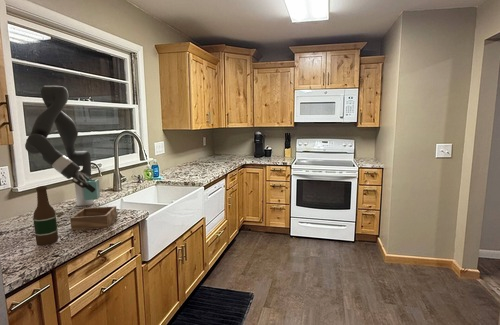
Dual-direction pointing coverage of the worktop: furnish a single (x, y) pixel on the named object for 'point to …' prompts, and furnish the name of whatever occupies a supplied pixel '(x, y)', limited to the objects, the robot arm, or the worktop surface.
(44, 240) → the beer bottle
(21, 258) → the worktop surface
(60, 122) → the robot arm
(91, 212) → the walnut crate
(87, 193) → the teal rectangular block
